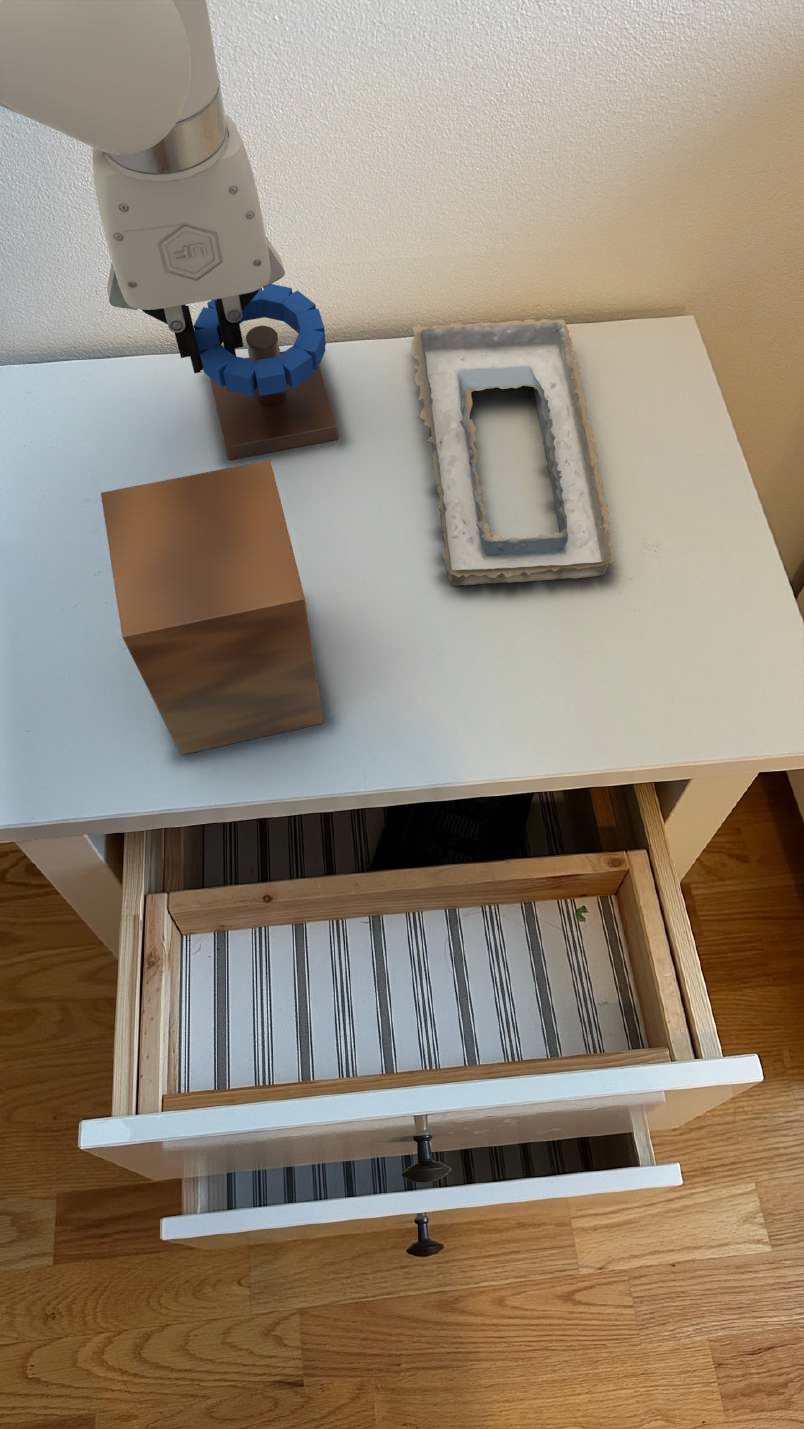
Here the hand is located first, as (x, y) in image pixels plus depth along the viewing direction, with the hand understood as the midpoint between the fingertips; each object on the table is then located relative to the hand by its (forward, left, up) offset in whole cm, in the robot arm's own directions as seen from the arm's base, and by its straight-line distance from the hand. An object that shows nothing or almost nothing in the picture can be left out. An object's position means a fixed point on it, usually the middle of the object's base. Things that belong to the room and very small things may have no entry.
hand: (213, 355), depth 74 cm
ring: (+4, 0, 0) cm, 4 cm away
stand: (-3, -24, -7) cm, 25 cm away
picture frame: (+21, -10, -7) cm, 24 cm away
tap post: (+4, 0, -7) cm, 8 cm away
